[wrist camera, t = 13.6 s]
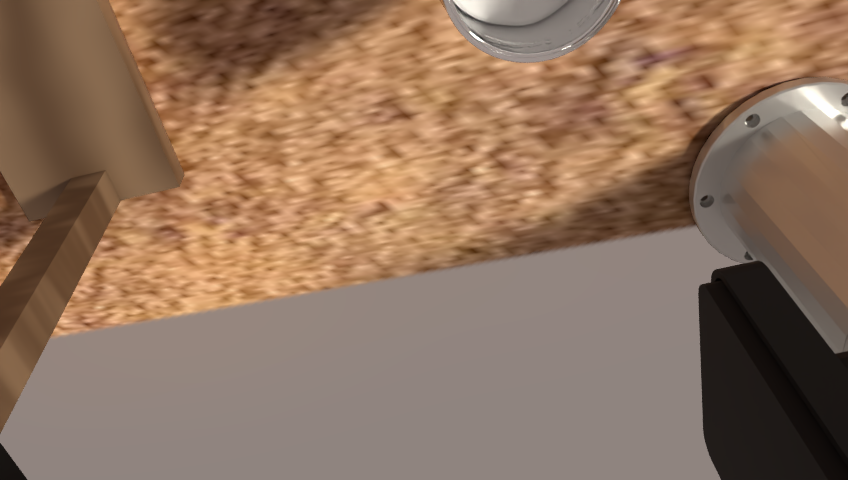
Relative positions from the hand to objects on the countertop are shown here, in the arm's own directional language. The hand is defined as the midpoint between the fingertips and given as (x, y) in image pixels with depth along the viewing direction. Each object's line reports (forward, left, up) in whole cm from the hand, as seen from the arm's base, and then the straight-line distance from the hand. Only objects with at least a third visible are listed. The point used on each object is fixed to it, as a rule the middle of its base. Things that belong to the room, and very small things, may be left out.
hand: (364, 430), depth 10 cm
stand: (+18, +5, -34) cm, 39 cm away
